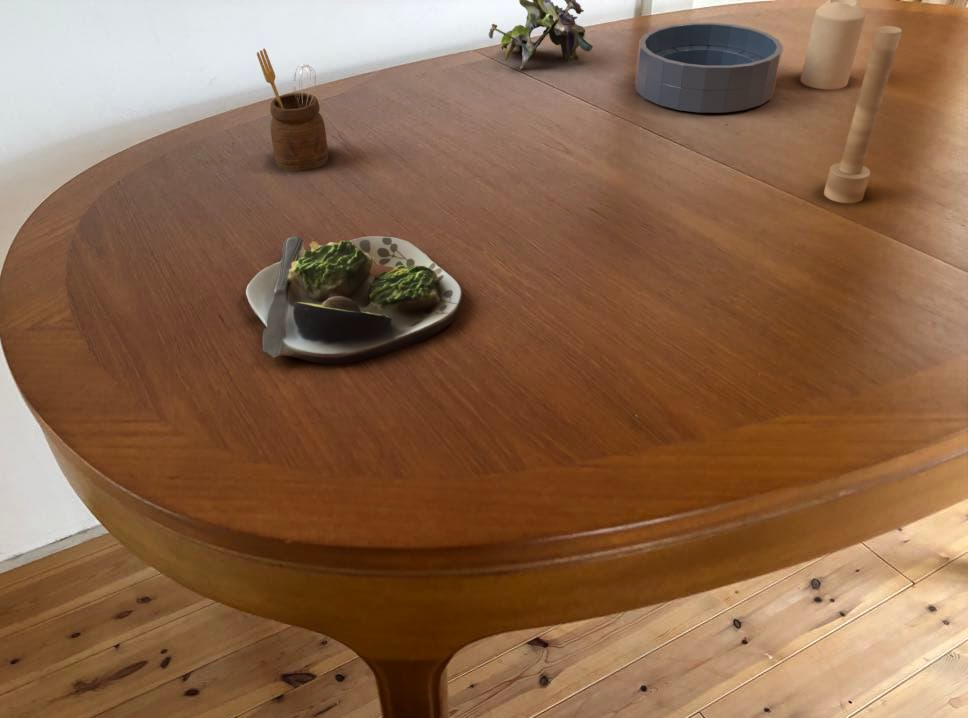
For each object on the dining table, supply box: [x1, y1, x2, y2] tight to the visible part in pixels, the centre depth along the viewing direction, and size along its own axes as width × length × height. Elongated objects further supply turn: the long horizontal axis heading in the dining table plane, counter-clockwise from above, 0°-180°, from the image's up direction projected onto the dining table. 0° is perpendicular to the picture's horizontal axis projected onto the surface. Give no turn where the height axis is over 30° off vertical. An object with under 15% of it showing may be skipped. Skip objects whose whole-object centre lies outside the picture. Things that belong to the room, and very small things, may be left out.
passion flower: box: [488, 0, 594, 71], centre depth 117 cm, size 11×11×12 cm
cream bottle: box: [800, 0, 866, 90], centre depth 107 cm, size 6×6×10 cm
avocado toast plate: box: [245, 235, 463, 365], centre depth 75 cm, size 19×18×5 cm
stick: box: [823, 25, 903, 204], centre depth 82 cm, size 4×4×16 cm
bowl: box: [634, 22, 784, 114], centre depth 108 cm, size 16×16×6 cm
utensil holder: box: [256, 47, 329, 172], centre depth 95 cm, size 6×6×12 cm
